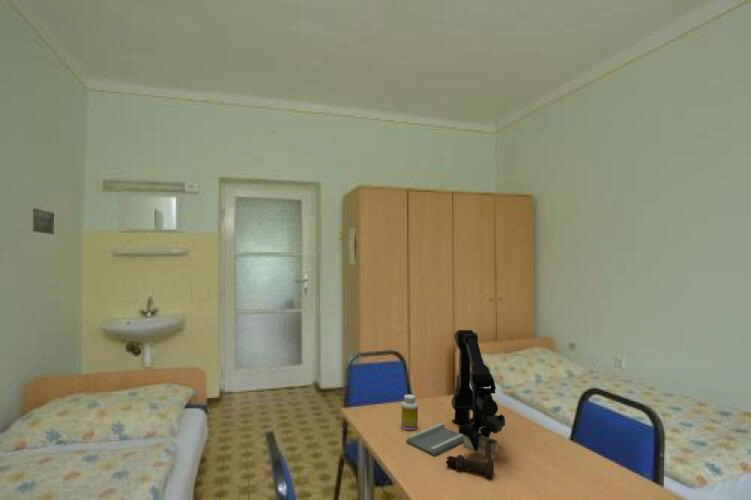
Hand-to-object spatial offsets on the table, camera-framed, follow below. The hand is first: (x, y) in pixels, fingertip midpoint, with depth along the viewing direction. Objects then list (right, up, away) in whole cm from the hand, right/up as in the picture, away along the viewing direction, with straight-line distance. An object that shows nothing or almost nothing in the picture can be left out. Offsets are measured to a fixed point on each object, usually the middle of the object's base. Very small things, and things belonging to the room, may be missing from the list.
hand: (480, 448), depth 155 cm
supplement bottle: (-24, -1, +20) cm, 31 cm away
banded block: (0, -1, 0) cm, 1 cm away
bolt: (-7, -1, -14) cm, 16 cm away
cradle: (-14, -1, +7) cm, 16 cm away
